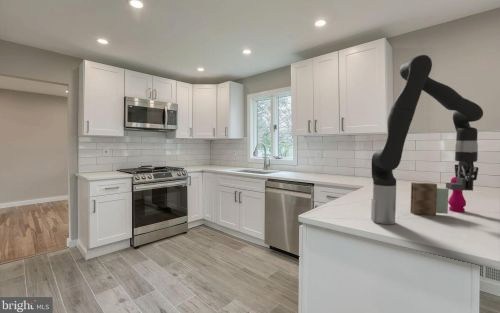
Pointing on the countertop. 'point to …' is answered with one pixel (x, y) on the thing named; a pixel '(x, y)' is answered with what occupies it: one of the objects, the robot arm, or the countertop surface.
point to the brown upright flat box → (423, 198)
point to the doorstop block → (458, 184)
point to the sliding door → (442, 200)
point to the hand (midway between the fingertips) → (465, 188)
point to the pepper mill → (456, 199)
